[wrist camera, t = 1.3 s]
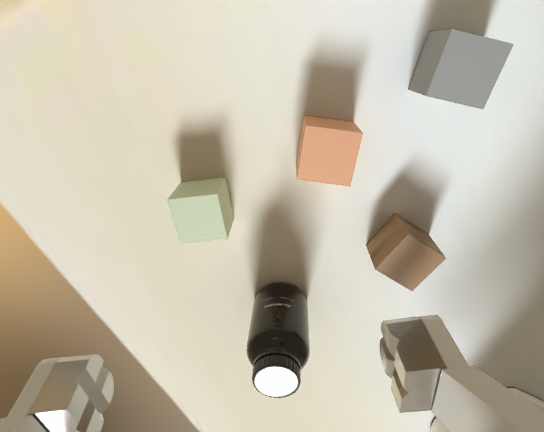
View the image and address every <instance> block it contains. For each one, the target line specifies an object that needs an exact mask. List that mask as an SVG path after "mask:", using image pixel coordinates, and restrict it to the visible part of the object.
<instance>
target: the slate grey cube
mask: <svg viewBox="0 0 544 432" xmlns="http://www.w3.org/2000/svg"><path fill="white" fill-rule="evenodd" d="M512 47H513V44H511V43H507V42H503V41H499V40H495V39H491V38H487V37H483V36H479V35H475V34H471V33H467V32H463V31H459V30H455V29H446V30H436V31H429V33H428V36H427V38H426V41H425V44H424V47H423V49H422V52H421V55H420V58H419V60H418V63H417V66H416V69H415V71H414V74H413V77H412V80H411V82H410V85H409V88H408V89H409V90H411V91H414V92H417V93H420V94H422V95H425V96H429V97H433V98H437V99H441V100H446V101H450V102H454V103H458V104H463V105H467V106H471V107H475V108H480V109H484V107H485V104H486V102H487V100H488V98H489V96H490V94H491V92H492V89H493V87H494V85H495V83H496V81H497V79H498V77H499V74H500V72H501V70H502V68H503V66H504V64H505V62H506V59H507V57H508V55H509V53H510V51H511V49H512Z"/></svg>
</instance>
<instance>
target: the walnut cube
mask: <svg viewBox="0 0 544 432" xmlns="http://www.w3.org/2000/svg"><path fill="white" fill-rule="evenodd" d="M366 246H367V249H368V252H369V254H370V257H371V259H372V262H373V265H374V267H375V270H377V271H379V272H381V273H382V274H384V275H386V276H387V277H389V278H391V279H392V280H394V281H396V282H398V283H399V284H401V285H403V286H404V287H406V288H408V289H409V290H411V291H413V290H414V289H415V288H416V287H417V286H418V285H419V284H420V283H421V282H422V281H423V280H424V279H425V278H426V277H427V276H428V275H429V274H430V273H431V272H432V271H433V270H434V269H435V268H436V267H437V266H438V265H439V264H441V263H442V262H443V261H444V260H445V259H446V258H445V256H444V255H443V253H442V252H441V251H440V249H439V248H438V247H437V245H436V244H435V243H434V241H433V240H432V239H431V237H430V236H429V235H428V234H427V233H425V232H424V231H422V230H420V229H419V228H417V227H416V226H414V225H413V224H411V223H410V222H408V221H406V220H405V219H403V218H402V217H400V216H399V215H397V214H395V213H394V214H393V215H392V217H391V218H390V219H389V220H388V221H387V222H386V223H385V224H384V226H383V227H382V228H381V229H380V230H379V231H378V232H377V233H376V235H375V236H374V237H373V238H372V239H371V240H370V241H369V243H368V244H367V245H366Z"/></svg>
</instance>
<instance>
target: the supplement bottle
mask: <svg viewBox="0 0 544 432" xmlns="http://www.w3.org/2000/svg"><path fill="white" fill-rule="evenodd" d="M247 356H248V359H249V361H250V363H251V364H252V366H253V376H252V380H253V384H254V387H255V388H256V389H257V390H258V391H259V392H260V393H262V394H264V395H266V396H269V397H274V398H277V397H278V398H281V397H286V396H289V395H292V394H293V393H295V392H296V390H298V387H299V386H300V375H301V369H302V368H303V367H304V366H305V365H306V363H307V361H308V358H309V328H308V308H307V300H306V298H305V296H304V294H303V293H302V292H301V291H300V290H299V289H298V288H297V287H295V286H293V285H291V284H287V283H273V284H269V285H267V286H265V287H264V288H262V289H261V290H260V291H259V292H258V294H257V295H256V297H255V301H254V306H253V312H252V318H251V324H250V330H249V336H248V343H247Z"/></svg>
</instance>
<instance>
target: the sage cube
mask: <svg viewBox="0 0 544 432" xmlns="http://www.w3.org/2000/svg"><path fill="white" fill-rule="evenodd" d="M167 201H168V204H169V208H170V211H171V215H172V218H173V221H174V225H175V228H176V232H177V235H178V239H179V242H180V244H185V243H195V242H205V241H214V240H224V239H228V236H229V232H230V229H231V226H232V223H233V220H234V215H233V210H232V206H231V201H230V196H229V191H228V186H227V181H226V177H220V178H212V179H203V180H195V181H187V182H181V183H180V184H179V186H178V187H177V188H176V189H175V191H174V192H173V193H172V194H171V196H170V197H169V198H168V199H167Z"/></svg>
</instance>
